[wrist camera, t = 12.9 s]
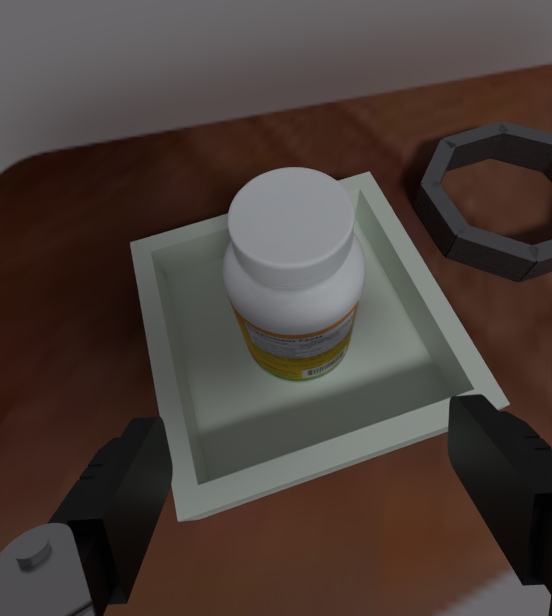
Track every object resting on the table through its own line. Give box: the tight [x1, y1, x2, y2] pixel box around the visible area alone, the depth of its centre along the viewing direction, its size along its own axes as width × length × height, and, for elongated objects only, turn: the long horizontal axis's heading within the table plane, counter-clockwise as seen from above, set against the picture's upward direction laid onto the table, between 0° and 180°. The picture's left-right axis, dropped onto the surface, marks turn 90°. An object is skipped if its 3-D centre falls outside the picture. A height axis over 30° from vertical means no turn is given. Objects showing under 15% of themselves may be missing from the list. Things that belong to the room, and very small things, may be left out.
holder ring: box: [413, 121, 552, 282], centre depth 24 cm, size 10×10×2 cm
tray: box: [130, 172, 510, 522], centre depth 20 cm, size 14×14×3 cm
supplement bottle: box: [222, 167, 366, 383], centre depth 16 cm, size 5×5×10 cm
